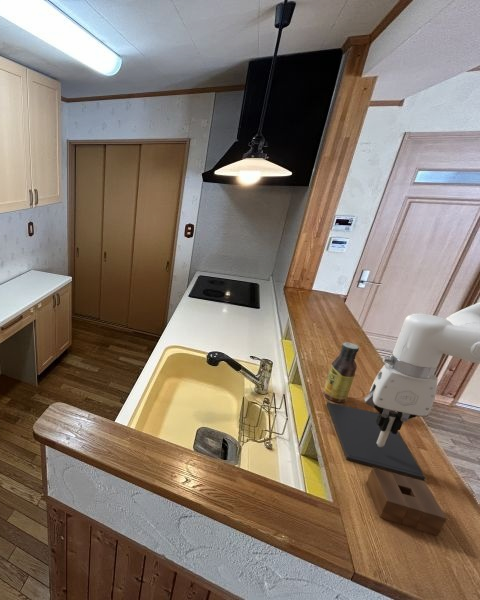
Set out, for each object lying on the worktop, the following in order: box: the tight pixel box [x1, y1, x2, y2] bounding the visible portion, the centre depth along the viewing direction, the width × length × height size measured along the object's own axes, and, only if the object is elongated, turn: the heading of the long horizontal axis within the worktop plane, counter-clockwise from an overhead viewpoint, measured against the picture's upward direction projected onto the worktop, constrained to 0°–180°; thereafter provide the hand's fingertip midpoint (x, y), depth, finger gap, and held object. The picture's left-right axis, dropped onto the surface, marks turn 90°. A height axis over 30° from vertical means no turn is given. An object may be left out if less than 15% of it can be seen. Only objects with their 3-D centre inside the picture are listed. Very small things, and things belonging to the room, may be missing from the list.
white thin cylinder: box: [376, 410, 397, 447], centre depth 81 cm, size 2×2×11 cm
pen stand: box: [365, 467, 448, 537], centre depth 70 cm, size 9×9×5 cm
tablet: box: [325, 401, 426, 482], centre depth 90 cm, size 15×24×1 cm, turn 154°
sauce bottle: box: [323, 341, 360, 403], centre depth 103 cm, size 6×6×20 cm
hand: (386, 428), depth 81 cm, fingers closed on white thin cylinder, 1 cm apart
